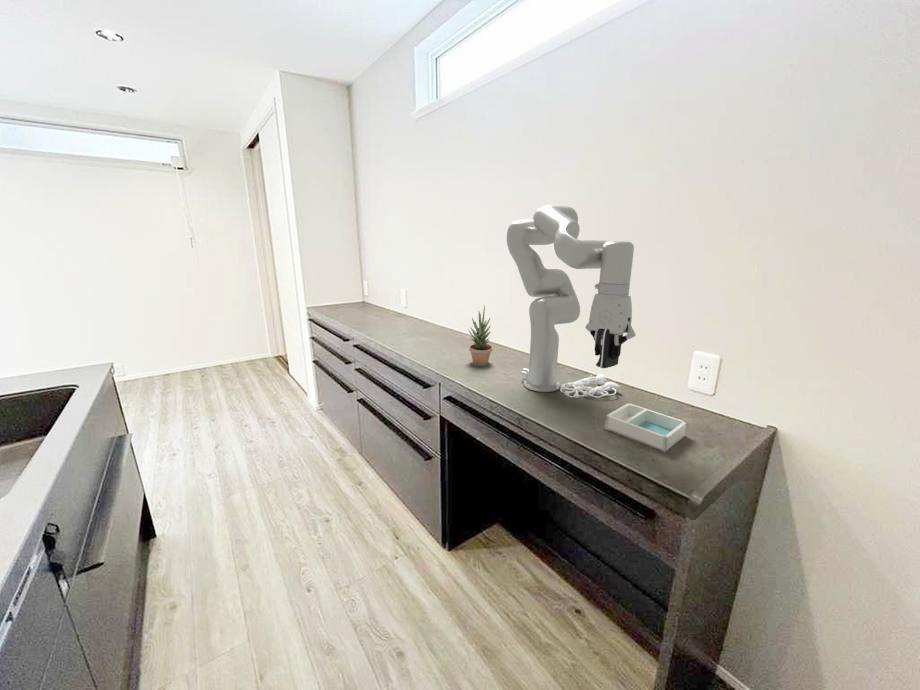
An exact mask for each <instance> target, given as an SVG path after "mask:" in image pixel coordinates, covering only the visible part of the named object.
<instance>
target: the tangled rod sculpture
mask: <svg viewBox="0 0 920 690" xmlns="http://www.w3.org/2000/svg"><path fill="white" fill-rule="evenodd" d="M592 381H595V383H596V384H597V386H596V387H589V385H590V384H591V382H592ZM619 389H620V386H619V384H617V383H615V382H613V381H607V377H606V376H605V375H604V374H597V375H596V376H594V375H593V374H590V376H589V377H586V378H585V377H583V378H582V379H579V380H576V381H574V382H571V381H570V382H567V383H564V384H562V385H560V388H559V390H560V392H561V393H563V394H564V395H565V396H567V397H569V398H575V399H579V398H580V397H588V396H590V397H593V398H597V399H598V398H603V397H605V396H608V397H609V396H615V394H617V390H619ZM613 391H614V392H613ZM609 392H613V393H611V394H609ZM573 393H574V394H573ZM579 393H582V394H579ZM570 394H573V396H572V395H570ZM594 394H595V395H594Z"/></svg>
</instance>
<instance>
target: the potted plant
mask: <svg viewBox="0 0 920 690" xmlns="http://www.w3.org/2000/svg"><path fill="white" fill-rule="evenodd" d="M485 313H486V307H485V304H484V305H483V311H482V314H481V312H480V311H478V313H477V314H478V325H477V322H476V321H475V320H474V318H473V317H472V318H471V319H472V320H471V321H472V323H473V327H474V329H475V330H474V329H473V328H472V327H470V330H468V332H469V334H470V336H471V337H472V338H471V337H470V339H471V341H472V342H473V344H470V345H469V346H468V347H469V349H468V350H469V352H470V355H471V359H472V363H473V365H475V366H481V367H482V366H486V365H488V364H489V359H490V356H491V353H492V352H493V346H492V345H490V344H489V342H490V340H489V339H490V337H488V336H489V335H491V331H489V330H490V329H491V325H489V323H490V320H491V317H489V319H487V320H486V319H485ZM488 325H489V326H488Z"/></svg>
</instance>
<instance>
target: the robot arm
mask: <svg viewBox="0 0 920 690" xmlns="http://www.w3.org/2000/svg"><path fill="white" fill-rule="evenodd" d="M580 232H581V229H580V225H579V215H578V213H577V212H576V210H575V209H574V208H572V207H571V206H566V205H545V206H541V207H539V208H537V209H536V211H535V212H534V214H533V217H532V219H519V220H516V221H513V222H512V223H511V224H510V225H509V226H508V228H507V232H506V244H507V248H508V251H509V255H510V256H511V257H512V260H513V261H514V263H515V264H516V267H517V270H518V272H519V275H520V278H521V281H522V283H523V286H524V289H525V291H526V294H527V295H528V296H529V297H532V298H535V299H534V300H533V301H532V302H531V303H530V304H529V308H528V310H529V311H528V313H529V321H530V322H529V323H530V345H529V346H530V347H529V362H528V368H525V367H524V368H522V371H521V372H520V375H522V376H525V379H524V380H523V386H524V387H525V388H527V389H528V390H531V391H535V392H539V393H550V392H555V391H558V390H560V388H561V383H560V382H559V381H558V380H557V372H558V371H557V368H558V359H559V357H558V356H559V355H558V354H559V346H560V345H559V343H560V338H559V337H560V336H559V334H558V332H557V329H556V328H555V326H556V325H563V324H564V325H565V324H571V323H574V322H576V321H577V320H578V319H579V317H580V316H581V315H580V314H581V305H580V302H579V300H578V299H579V298H578V296H577V294H576V291H575V289H574V286H573V284H572V281H571V279H570V276H569V275H568V273H566V271H564V270H562V269H559V268H549V269H548V268H546V267H545V266H544V263H543V261H542V259H541V256H540V255H539V254H538V253H537V252H536V251H535V250H534V249H533V248H532V247H531V246H546V245H553V249H554V253H555V255H556V257H557V259H559V260H560V261H562V262H563V263H564V264H565V265H566V266H568V267H570V268H572V269H576V270H586V269H587V270H588V269H589V270H591V269H595V270H597V269H599V270H600V272H599V282H598V283H595V285H594V289H597V293H594V295H593V300H592V304H591V307H590V312H589V318H588V323H587V324H586V325H585V327H584V328H585V329H586V330H587V331H588V332H589V333H590V335H591V336H592V338H593V341H594V342H595V343H594V355H595V356H600V348H599V345H596V337H597V331H598V329H609V333H610V334H614V345H612V350H611V359H613V360H614V359H616V358H618V357H620V356H621V353H622V352H621V351H622V345H623V344H624V343H625V342H626V341H628V340H630V339H632V338H635V337H636V333H635V331H634V329H633V327H632V318H633V308H632V307H633V306H632V297H631V295H629V294H630V285H631V278H632V269H633V268H632V267H633V261H634V252H635V246H634V244H633V243H632V242H631V241H617V240H616V241H615V240H614V241H612V240H611V241H610V240H591V239H590V240H589V239H588V240H586V239H585V240H583V239H582V240H579V238H578V237H579V235H580ZM624 334H625V335H624Z"/></svg>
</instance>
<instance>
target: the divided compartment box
mask: <svg viewBox="0 0 920 690" xmlns="http://www.w3.org/2000/svg"><path fill="white" fill-rule="evenodd" d="M604 420H605V421H604V426H603V427H604V428H603V429H604V430H606V431H609V432H612V433H614V434H616V435H619V436H621V437H623V438H626V439H629V440H631V441H634V442H636V443H639V444H641V445H643V446H647V447H649V448H651V449H654V450H656V451H659V452H661V453H666V452H667V451H668V450H669V449H671V448H672V447H673V446H674V445H676V444H677V443H678V442H679V441H680V440H682V439H683V438H684V437H685V436H686V432H687V431H686V430H687V428H688V427H687V426H688V421H685V420H682V419H679V418H676V417H673V416H669V415H667V414H664V413H660V412H657V411H656V410H655V411H654V410H652V409H648V408H645V407H642V406H639V405H636V404H633V403H630V402H628V403H626V404H624V405H622V406H620V407H619V408H617V409H616V410H613V411H612V412H610V413H608V414H606V415H605V419H604Z"/></svg>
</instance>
